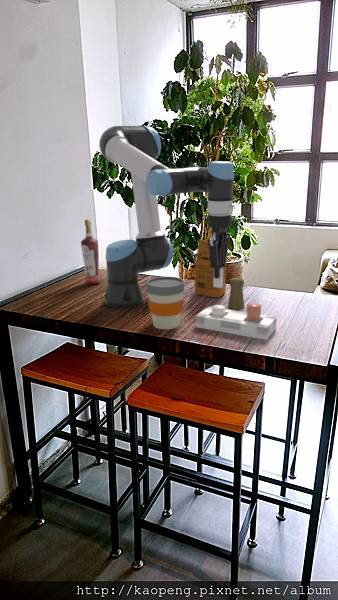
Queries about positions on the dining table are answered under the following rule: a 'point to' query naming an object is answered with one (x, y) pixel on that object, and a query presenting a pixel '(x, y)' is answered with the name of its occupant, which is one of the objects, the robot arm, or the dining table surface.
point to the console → (236, 323)
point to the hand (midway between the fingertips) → (218, 286)
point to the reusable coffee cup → (165, 301)
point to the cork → (236, 294)
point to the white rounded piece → (218, 311)
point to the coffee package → (206, 273)
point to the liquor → (90, 256)
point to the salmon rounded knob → (253, 312)
